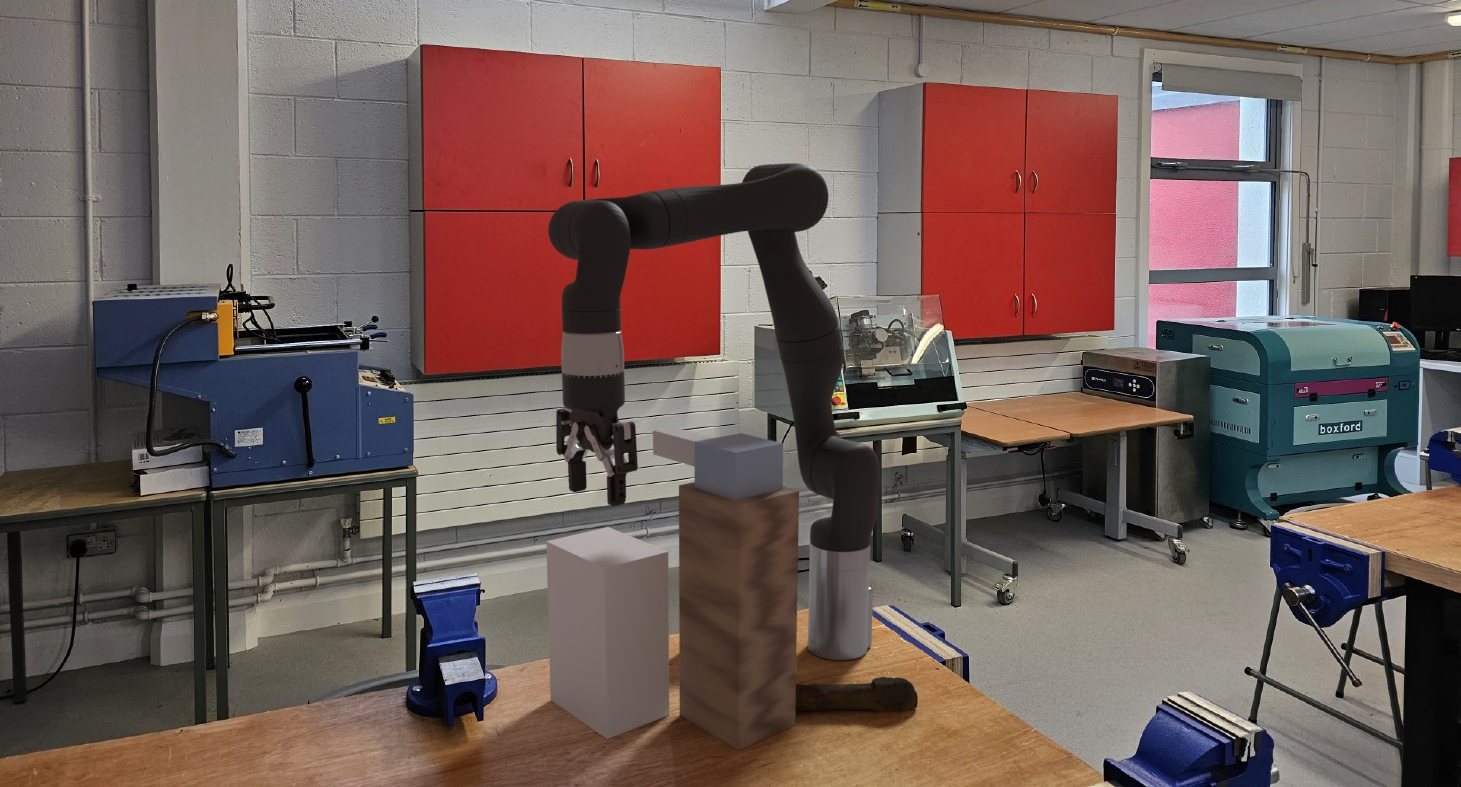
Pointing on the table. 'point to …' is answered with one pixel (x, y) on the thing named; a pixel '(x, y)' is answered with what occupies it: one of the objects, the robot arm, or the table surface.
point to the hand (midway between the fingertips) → (596, 497)
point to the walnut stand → (738, 612)
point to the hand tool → (858, 696)
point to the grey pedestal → (608, 629)
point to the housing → (725, 461)
